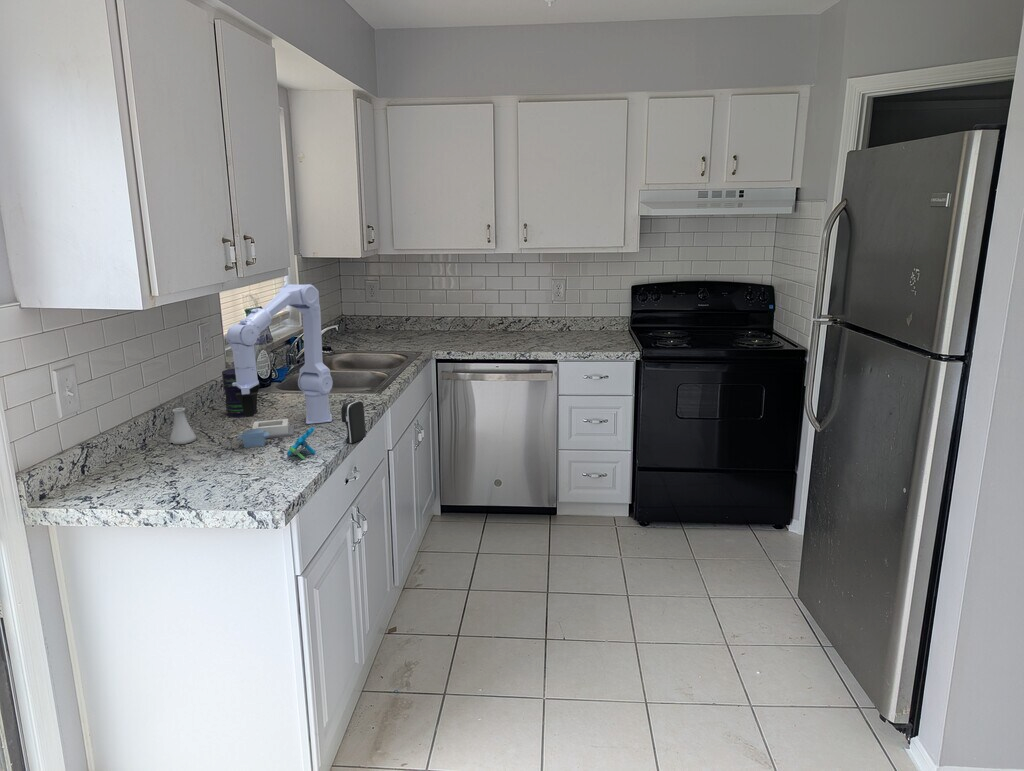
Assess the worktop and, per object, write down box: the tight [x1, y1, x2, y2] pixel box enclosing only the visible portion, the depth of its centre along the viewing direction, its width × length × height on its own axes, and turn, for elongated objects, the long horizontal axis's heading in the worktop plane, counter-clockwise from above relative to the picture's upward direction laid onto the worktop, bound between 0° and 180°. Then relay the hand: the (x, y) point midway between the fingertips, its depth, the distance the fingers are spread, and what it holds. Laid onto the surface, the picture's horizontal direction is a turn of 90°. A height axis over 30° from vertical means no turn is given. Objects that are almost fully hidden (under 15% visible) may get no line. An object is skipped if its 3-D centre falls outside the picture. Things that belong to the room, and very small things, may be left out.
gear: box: [286, 426, 316, 460], centre depth 191 cm, size 11×6×10 cm
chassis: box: [249, 418, 295, 440], centre depth 212 cm, size 10×13×3 cm
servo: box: [237, 429, 269, 448], centre depth 202 cm, size 4×8×4 cm, turn 105°
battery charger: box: [340, 400, 367, 444], centre depth 202 cm, size 7×4×11 cm, turn 157°
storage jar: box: [221, 367, 258, 419], centre depth 235 cm, size 10×10×15 cm
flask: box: [168, 407, 198, 445], centre depth 206 cm, size 7×7×10 cm
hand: (251, 413), depth 200 cm, fingers open, 7 cm apart
